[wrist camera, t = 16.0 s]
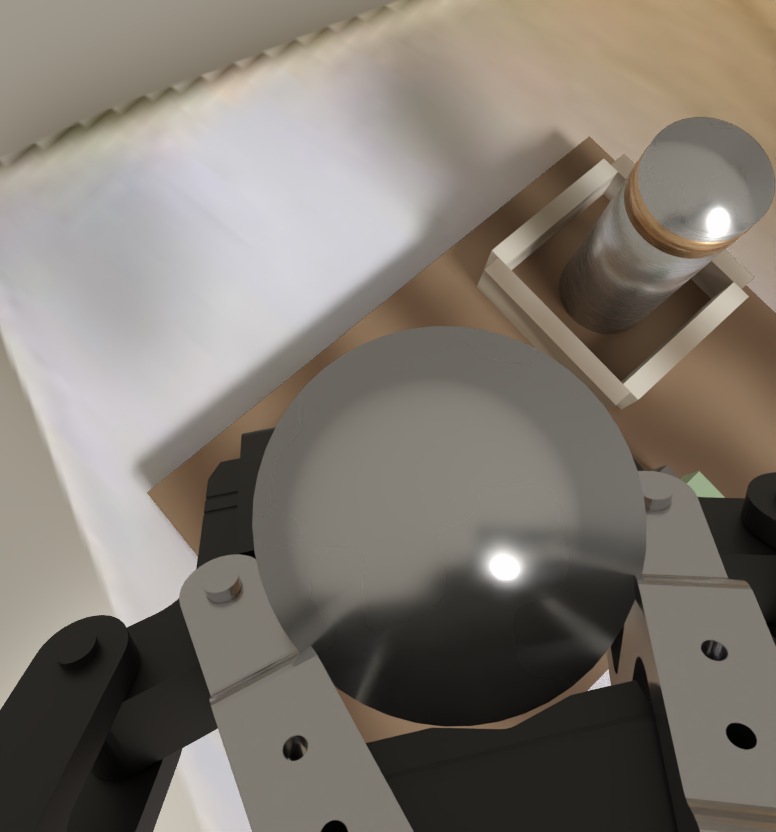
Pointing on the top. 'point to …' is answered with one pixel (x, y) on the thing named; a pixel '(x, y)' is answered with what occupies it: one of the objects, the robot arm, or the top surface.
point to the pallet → (566, 358)
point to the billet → (449, 525)
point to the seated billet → (667, 222)
